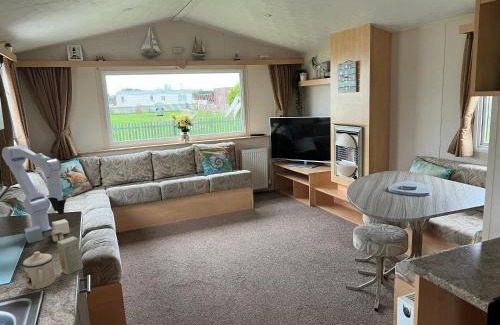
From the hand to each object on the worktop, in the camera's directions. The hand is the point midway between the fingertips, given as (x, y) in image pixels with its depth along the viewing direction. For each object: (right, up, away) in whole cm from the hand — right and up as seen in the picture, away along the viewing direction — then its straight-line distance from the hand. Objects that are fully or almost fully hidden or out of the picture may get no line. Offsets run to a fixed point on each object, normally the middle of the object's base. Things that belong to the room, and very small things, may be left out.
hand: (59, 212), depth 175 cm
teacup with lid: (+19, -19, -48) cm, 55 cm away
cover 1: (-9, -12, -5) cm, 16 cm away
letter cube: (+3, -12, -6) cm, 13 cm away
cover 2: (0, -10, +2) cm, 10 cm away
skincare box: (+25, -17, -38) cm, 48 cm away
